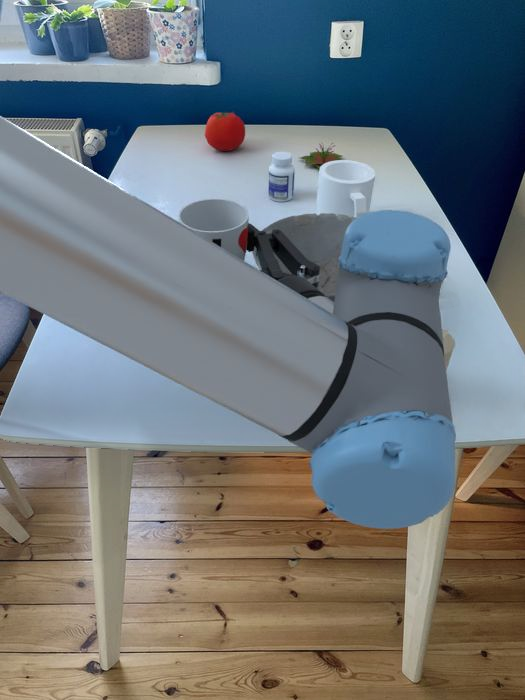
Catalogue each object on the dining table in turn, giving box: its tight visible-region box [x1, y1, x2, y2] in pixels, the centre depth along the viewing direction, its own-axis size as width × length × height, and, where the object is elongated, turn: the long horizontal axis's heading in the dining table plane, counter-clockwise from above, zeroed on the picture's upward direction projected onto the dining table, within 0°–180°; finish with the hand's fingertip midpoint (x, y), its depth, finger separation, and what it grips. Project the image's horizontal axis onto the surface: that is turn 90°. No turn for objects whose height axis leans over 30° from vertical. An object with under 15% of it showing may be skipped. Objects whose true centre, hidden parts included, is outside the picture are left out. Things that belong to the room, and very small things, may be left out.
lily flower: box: [298, 142, 345, 170], centre depth 125 cm, size 12×12×5 cm
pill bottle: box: [268, 151, 296, 203], centre depth 110 cm, size 5×5×9 cm
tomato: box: [204, 111, 246, 152], centre depth 129 cm, size 9×10×8 cm
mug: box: [314, 159, 376, 218], centre depth 100 cm, size 14×10×11 cm
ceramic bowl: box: [251, 213, 356, 302], centre depth 82 cm, size 22×23×10 cm
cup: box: [177, 198, 250, 261], centre depth 65 cm, size 8×8×10 cm
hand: (196, 227), depth 68 cm, fingers closed on cup, 8 cm apart
